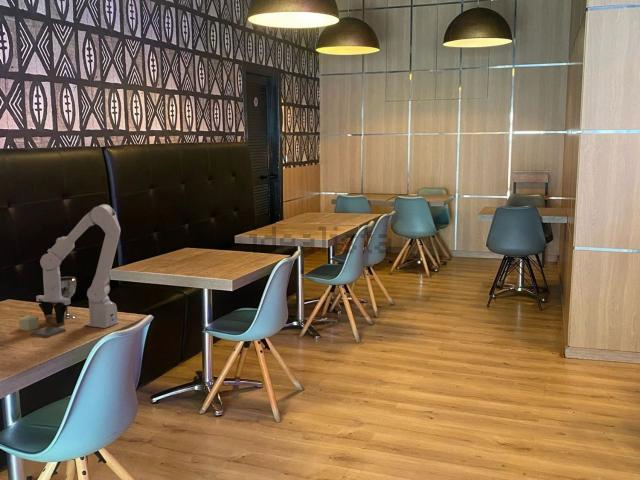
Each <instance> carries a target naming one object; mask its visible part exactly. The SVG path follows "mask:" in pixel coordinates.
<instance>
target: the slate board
mask: <svg viewBox="0 0 640 480" xmlns="http://www.w3.org/2000/svg"><path fill="white" fill-rule="evenodd" d="M64 332H65V333H66V328H62V327H50V326H47V327H46V326H45V327H42V328H37V329H35V330H32V331H30V333H29V334H30V336H33V337H34V336H35V337H42V338H48V339H49V338H51V337H54V336H56V335H60V334H63V333H64Z"/></svg>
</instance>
